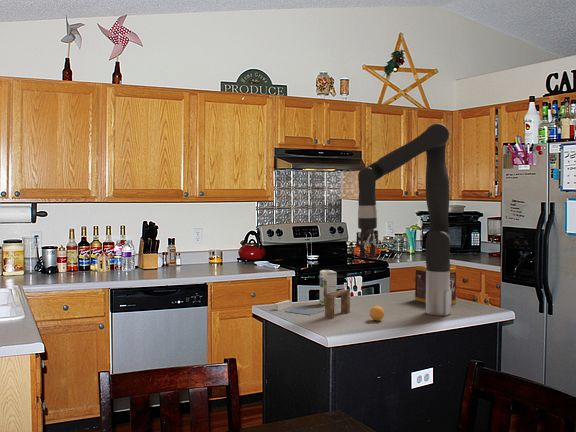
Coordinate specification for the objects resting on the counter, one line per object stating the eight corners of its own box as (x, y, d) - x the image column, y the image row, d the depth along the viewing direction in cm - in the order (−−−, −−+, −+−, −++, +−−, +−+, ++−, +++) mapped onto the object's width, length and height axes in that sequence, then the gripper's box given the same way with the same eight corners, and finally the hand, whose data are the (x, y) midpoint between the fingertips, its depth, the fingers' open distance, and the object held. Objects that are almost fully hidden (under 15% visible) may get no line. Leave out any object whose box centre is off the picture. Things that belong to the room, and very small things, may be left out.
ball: (386, 320, 233) (386, 305, 232) (380, 322, 228) (380, 308, 228) (373, 318, 236) (373, 304, 235) (367, 320, 231) (367, 306, 231)
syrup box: (318, 303, 266) (319, 270, 266) (331, 302, 268) (331, 269, 268) (324, 305, 261) (324, 271, 260) (336, 305, 263) (337, 271, 262)
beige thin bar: (291, 306, 260) (291, 300, 259) (278, 310, 251) (278, 304, 251) (287, 305, 261) (287, 300, 261) (274, 309, 252) (274, 303, 252)
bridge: (349, 312, 247) (350, 289, 246) (331, 318, 235) (331, 295, 234) (343, 311, 248) (343, 289, 248) (324, 318, 236) (325, 294, 236)
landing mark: (325, 310, 251) (325, 309, 251) (310, 315, 241) (310, 314, 241) (301, 307, 258) (301, 306, 258) (284, 311, 248) (284, 311, 248)
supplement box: (437, 306, 262) (438, 269, 261) (414, 300, 275) (415, 265, 275) (456, 303, 267) (456, 268, 266) (432, 298, 280) (433, 264, 280)
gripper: (367, 217, 240) (367, 259, 240) (383, 216, 251) (384, 255, 252) (350, 217, 244) (350, 258, 245) (367, 216, 256) (367, 254, 256)
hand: (367, 256), depth 248 cm, fingers open, 8 cm apart
